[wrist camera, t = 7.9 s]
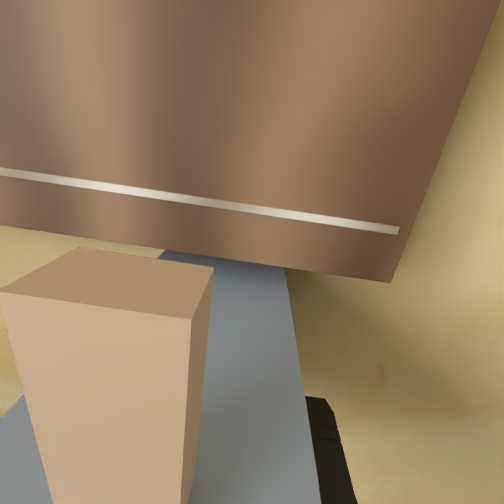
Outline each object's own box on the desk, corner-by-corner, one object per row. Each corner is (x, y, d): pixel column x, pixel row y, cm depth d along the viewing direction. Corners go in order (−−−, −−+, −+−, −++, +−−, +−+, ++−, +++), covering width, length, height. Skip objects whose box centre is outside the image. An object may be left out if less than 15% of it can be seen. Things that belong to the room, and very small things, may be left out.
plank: (-185, 166, 14) (-350, 173, 10) (-344, -169, 10) (-738, -373, 6) (358, 248, 14) (391, 284, 11) (451, -46, 10) (568, -168, 6)
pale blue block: (166, 352, 16) (-62, 822, 5) (170, 165, 12) (-1352, 459, 1) (263, 366, 16) (256, 864, 5) (300, 185, 12) (817, 757, 1)
